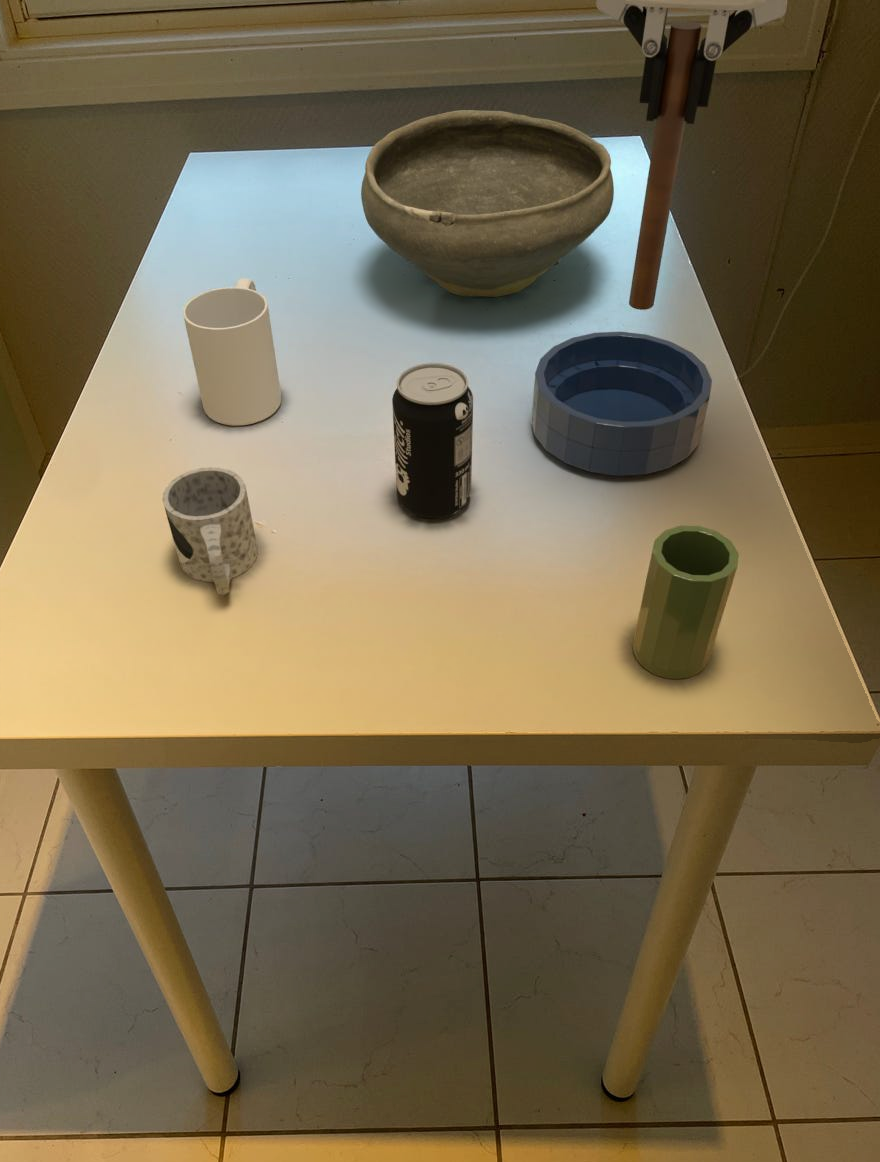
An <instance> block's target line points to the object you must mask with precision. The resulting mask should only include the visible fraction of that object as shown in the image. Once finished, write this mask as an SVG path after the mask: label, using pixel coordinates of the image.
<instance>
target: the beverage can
mask: <svg viewBox="0 0 880 1162" xmlns="http://www.w3.org/2000/svg"><path fill="white" fill-rule="evenodd" d="M391 402H392V422H393V423H392V424H393V444H394V445H393V446H394V463H395V484H396V497H397V500H398V502H399V504H400V505H401V506H402V507H403V509H405V510H407V511H408V512H409V513H410V514H412V515H414V516H416V517H419V518H422V519H426V520H440V519H445V518H449V517H452V516H453V515H455V514H457V513H458V512H459V511H460V510H462V509H463V508H464V507H465V506H466V505H467V504H468V503H469V502H470V499H471V496H472V473H473V471H472V470H473V433H474V432H473V430H474V429H473V426H474V394H473V391H472V390H471V388H470V386H469V379H468V376H467V374H466V373H465V372H464V371H462V370H461V369H460V368H458V367H456V366H454V365H452V364H448V363H442V362H425V363H420V364H416V365H413V366H411V367H409V368H406V369H405V370H404V371H402V372H401V373H400V375H399V376H398V378H397V380H396V389H395V390H394V392H393V395H392V399H391Z"/></svg>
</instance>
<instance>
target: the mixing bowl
mask: <svg viewBox="0 0 880 1162" xmlns="http://www.w3.org/2000/svg"><path fill="white" fill-rule="evenodd" d="M712 383H713V380H712V376H711V375H710V373H709V370H708V368H707V365H706V363H704V362H703V361H702V360H701V359H700V358H699V357H698V356H696V355H695V354H694V353H693V351H690V350H688V349H686V348H684V347H682V346H681V345H678V344H676V343H675V342H672V341H670V340H667V339H663V338H660V337H656V336H653V335H649V334H646V333H639V332H638V333H637V332H628V331H603V332H602V331H601V332H600V331H599V332H592V333H586V334H582V335H578V336H573V337H571V338H569V339H567V340H564V341H562V342H560V343H558V344H556V345H554V346H552V347H551V348H550V349H549V350H548V351H547V352H546V353H544V355H543V356H542V357H540V359H539V362H538V365H537V367H536V370H535V372H534V383H533V384H534V385H533V397H532V398H533V399H532V411H531V424H532V430H533V435H534V437H535V438H536V440H537V441H538V443H540V444H541V446H542V447H543V448H544V450H545V451H547V452H548V453H550V454H551V455H553V456H554V457H556V458H558V459H559V460H560V461H561V462H563V463H565V464H567V465H569V466H573V467H575V468H578V469H580V470H584V471H587V472H590V473H596V474H602V475H608V476H609V475H610V476H619V477H620V476H639V475H640V476H641V475H648V474H652V473H656V472H659V471H664V470H667V469H670V468H672V467H673V466H675V465H677V464H679V463H680V462H682V461H684V460H685V459H687V458H689V456H690V455H691V454H692V453H693V452H694V450H695V448H696V447H697V446H698V445H699V443H700V440H701V435H702V432H703V427H704V424H705V423H704V422H705V419H706V415H707V410H708V406H709V401H710V397H711V392H712V385H713V384H712Z"/></svg>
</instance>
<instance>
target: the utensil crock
mask: <svg viewBox="0 0 880 1162" xmlns="http://www.w3.org/2000/svg"><path fill="white" fill-rule="evenodd" d="M739 556H740V555H739V552H738V550H737V549H736V547H735V545H734V544H733V542H732V540H730V539H729V538H727V537H726V536H725V535H723V534H722V533H720V532H719V531H717V530H714V529H710V528H708V527H704V526H701V525H678V526H675V527H672V528H669V529H665V530H664V531H663V532H662V533H661V534H660V535H658V537H656V538H655V540H654V541H653V546H652V551H651V555H650V560H649V565H648V570H647V574H646V579H645V585H644V589H643V595H642V599H641V603H640V607H639V608H640V609H639V611H638V617H637V621H636V622H637V623H636V625H635V626H636V627H635V631H634V637H633V642H632V652H633V655H634V657H635V659H636V661H637V662H638V663H639V665H641V667H642V668H644V669H645V670H646V671H647V672H649V673H651V674H653V675H656V676H658V677H660V678H665V679H671V680H682V679H687V678H692V677H694V676H696V675H698V674H699V673H700V672H702V671H703V670H704V669H705V668H706V666H707V664H708V662H709V658H710V657H711V655H712V653H713V652H712V651H713V649H714V645H715V642H716V639H717V636H718V632H719V628H720V625H721V622H722V619H723V615H724V612H725V609H726V606H727V603H728V599H729V597H730V593H731V589H732V586H733V582H734V579H735V576H736V573H737V569H738V566H739Z"/></svg>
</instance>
